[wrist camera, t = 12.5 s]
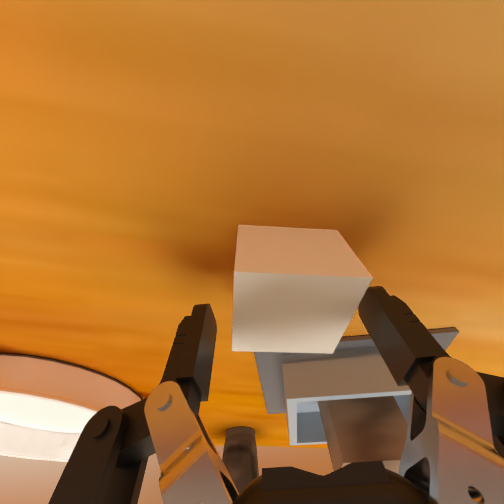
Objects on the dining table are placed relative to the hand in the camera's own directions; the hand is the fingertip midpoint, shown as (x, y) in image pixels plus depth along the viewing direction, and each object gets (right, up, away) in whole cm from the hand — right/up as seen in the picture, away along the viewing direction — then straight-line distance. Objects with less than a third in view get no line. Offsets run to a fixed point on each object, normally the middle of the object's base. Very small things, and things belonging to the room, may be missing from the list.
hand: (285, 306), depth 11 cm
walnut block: (+8, -12, +11) cm, 18 cm away
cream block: (0, +2, +3) cm, 4 cm away
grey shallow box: (+8, -11, +12) cm, 19 cm away
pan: (-26, -15, +15) cm, 34 cm away
